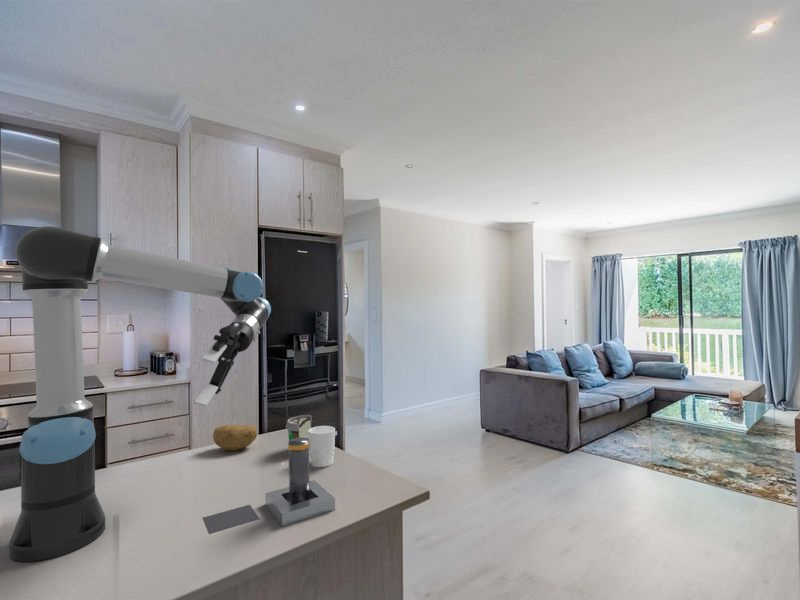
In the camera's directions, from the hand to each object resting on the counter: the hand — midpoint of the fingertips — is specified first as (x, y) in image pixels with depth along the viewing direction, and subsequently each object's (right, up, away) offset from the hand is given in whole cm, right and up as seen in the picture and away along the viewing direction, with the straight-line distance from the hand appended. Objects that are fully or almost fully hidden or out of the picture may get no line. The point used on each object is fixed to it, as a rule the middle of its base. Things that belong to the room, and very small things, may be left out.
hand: (203, 383), depth 94 cm
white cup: (+22, -30, +29) cm, 47 cm away
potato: (-10, -31, +42) cm, 53 cm away
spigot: (+22, -29, 0) cm, 36 cm away
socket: (+22, -29, 0) cm, 36 cm away
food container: (+11, -30, +41) cm, 52 cm away
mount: (+8, -29, -5) cm, 31 cm away
